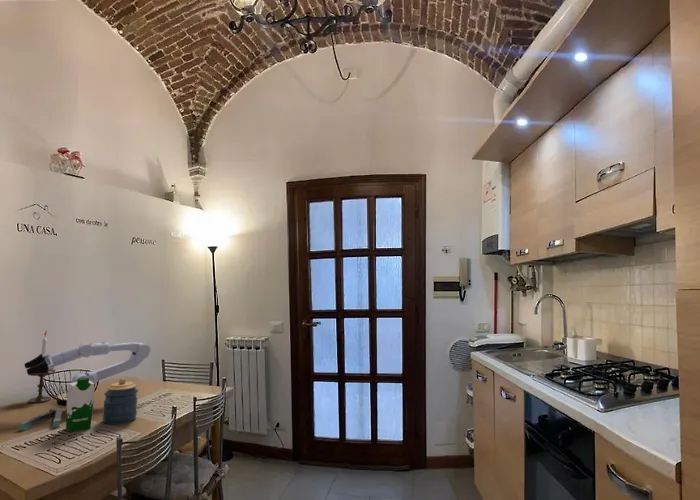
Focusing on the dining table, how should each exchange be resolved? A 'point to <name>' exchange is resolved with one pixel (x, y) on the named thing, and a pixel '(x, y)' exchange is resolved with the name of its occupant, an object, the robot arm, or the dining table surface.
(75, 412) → the milk carton
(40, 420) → the tong leg
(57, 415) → the tongs fixed
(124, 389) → the canister
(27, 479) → the dining table surface
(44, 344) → the candlestick
